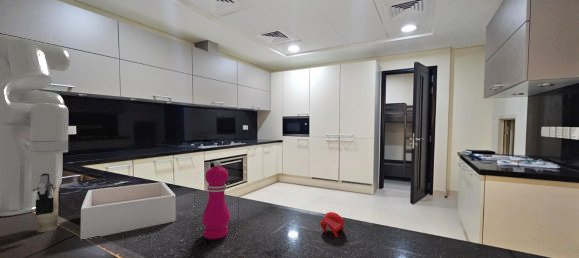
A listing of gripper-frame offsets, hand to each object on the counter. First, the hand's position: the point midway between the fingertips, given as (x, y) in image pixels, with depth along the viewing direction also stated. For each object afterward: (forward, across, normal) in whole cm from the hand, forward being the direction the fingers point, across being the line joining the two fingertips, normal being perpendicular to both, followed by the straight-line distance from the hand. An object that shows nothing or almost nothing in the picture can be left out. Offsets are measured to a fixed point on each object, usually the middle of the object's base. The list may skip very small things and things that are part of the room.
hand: (48, 209), depth 65 cm
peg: (+6, -1, 0) cm, 6 cm away
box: (+6, +2, +19) cm, 20 cm away
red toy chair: (+8, +47, +64) cm, 80 cm away
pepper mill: (+7, +29, +37) cm, 47 cm away
